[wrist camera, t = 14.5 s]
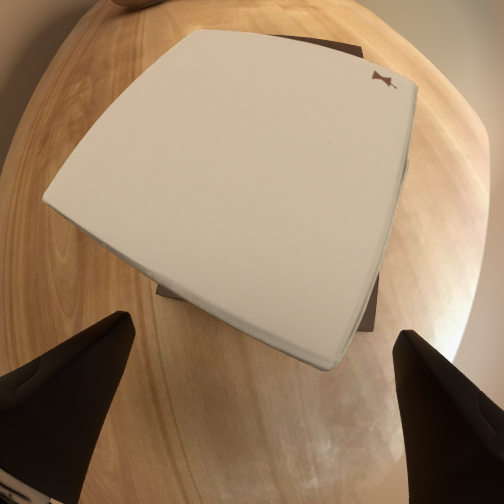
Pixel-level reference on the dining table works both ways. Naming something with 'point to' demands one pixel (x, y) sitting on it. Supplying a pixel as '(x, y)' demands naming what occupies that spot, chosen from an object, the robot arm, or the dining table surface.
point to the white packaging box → (251, 183)
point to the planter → (136, 3)
